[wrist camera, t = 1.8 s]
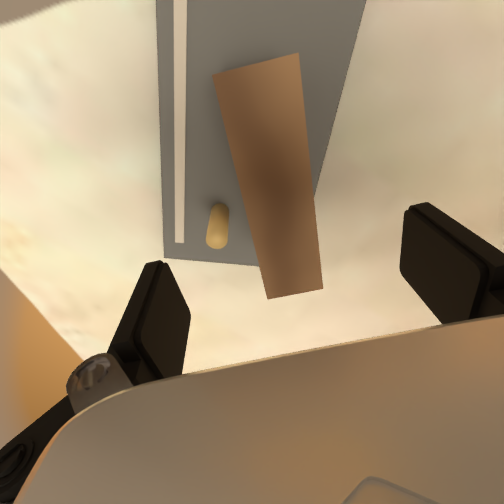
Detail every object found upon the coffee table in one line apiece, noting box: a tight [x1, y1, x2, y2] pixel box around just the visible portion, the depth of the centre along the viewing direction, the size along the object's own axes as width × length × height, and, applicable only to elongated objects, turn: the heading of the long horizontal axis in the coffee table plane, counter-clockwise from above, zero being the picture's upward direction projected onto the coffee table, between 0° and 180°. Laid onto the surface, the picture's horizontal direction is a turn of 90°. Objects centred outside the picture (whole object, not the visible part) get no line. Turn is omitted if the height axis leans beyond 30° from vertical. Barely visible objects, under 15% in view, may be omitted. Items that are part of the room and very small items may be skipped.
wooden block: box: [212, 52, 323, 299], centre depth 20 cm, size 4×14×8 cm, turn 12°
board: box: [156, 0, 366, 266], centre depth 19 cm, size 13×28×6 cm, turn 172°
